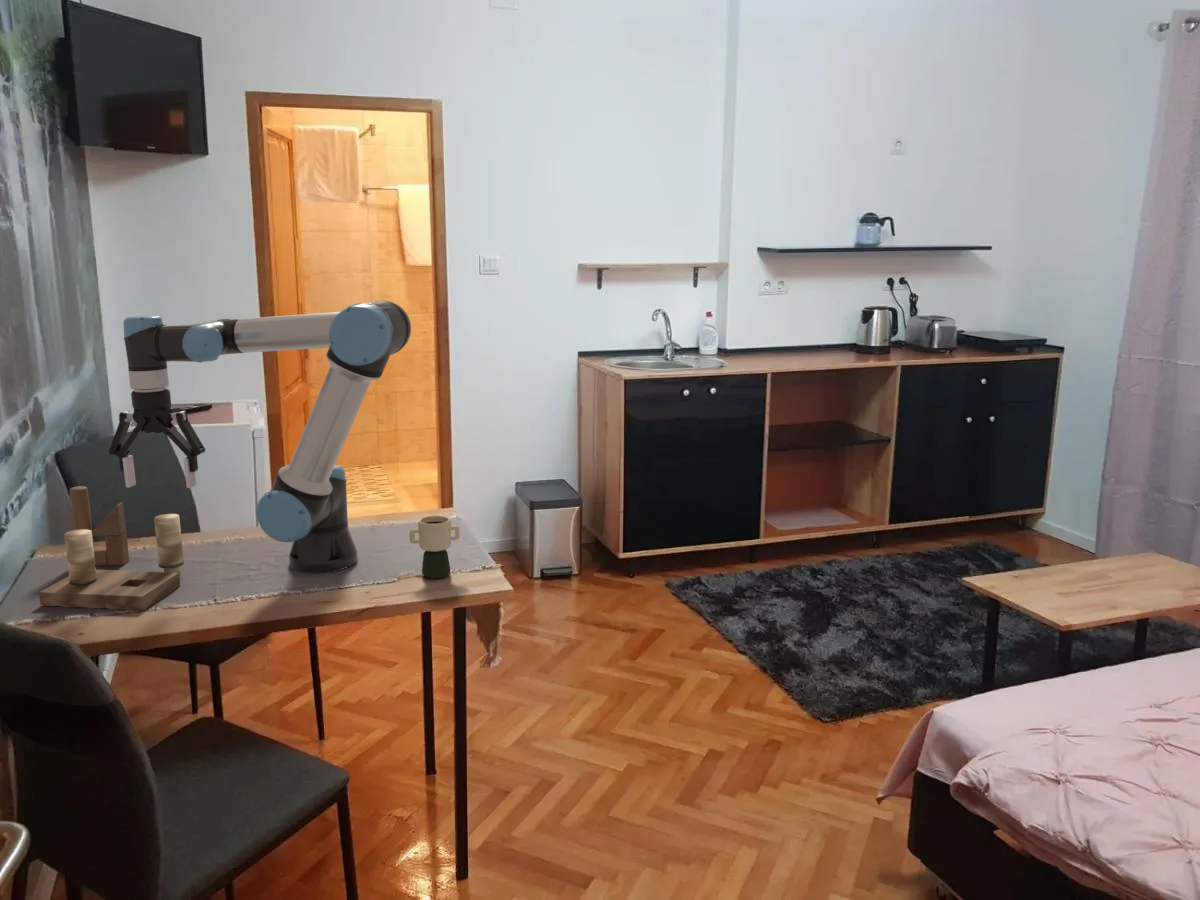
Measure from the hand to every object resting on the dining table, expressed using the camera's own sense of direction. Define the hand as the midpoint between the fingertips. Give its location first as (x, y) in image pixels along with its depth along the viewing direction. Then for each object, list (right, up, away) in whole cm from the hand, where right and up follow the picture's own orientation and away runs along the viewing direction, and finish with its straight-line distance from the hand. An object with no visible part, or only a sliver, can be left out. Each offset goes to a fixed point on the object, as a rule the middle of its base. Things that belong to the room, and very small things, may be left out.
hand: (161, 486), depth 208 cm
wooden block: (-19, -18, +12) cm, 29 cm away
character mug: (+59, -20, +5) cm, 62 cm away
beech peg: (0, -20, +4) cm, 20 cm away
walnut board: (-7, -23, -8) cm, 25 cm away
